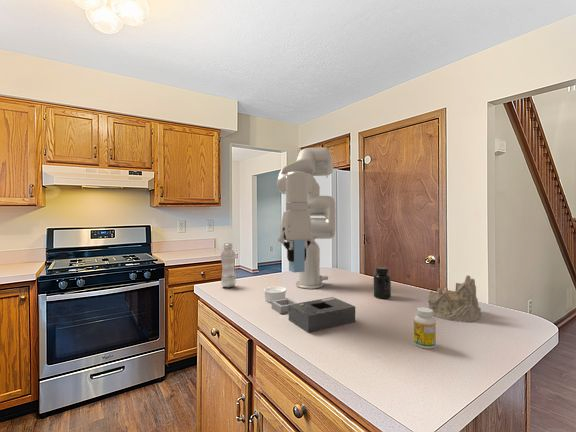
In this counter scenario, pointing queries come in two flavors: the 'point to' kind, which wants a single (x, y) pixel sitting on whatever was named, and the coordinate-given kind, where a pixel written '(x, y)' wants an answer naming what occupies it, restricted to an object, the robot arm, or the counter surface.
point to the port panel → (321, 314)
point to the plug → (298, 257)
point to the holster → (282, 305)
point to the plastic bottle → (228, 266)
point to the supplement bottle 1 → (382, 283)
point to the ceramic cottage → (456, 302)
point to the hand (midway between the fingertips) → (296, 260)
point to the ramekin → (274, 293)
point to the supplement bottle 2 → (424, 328)
